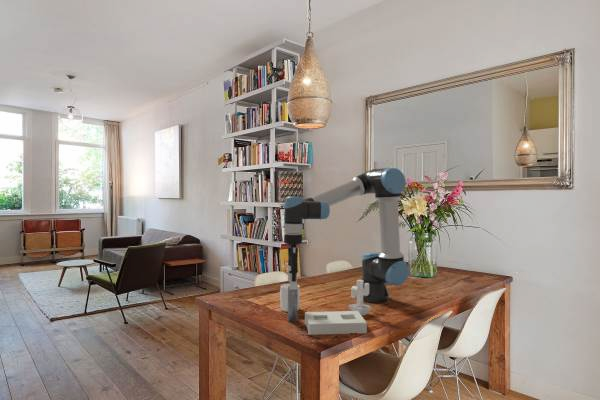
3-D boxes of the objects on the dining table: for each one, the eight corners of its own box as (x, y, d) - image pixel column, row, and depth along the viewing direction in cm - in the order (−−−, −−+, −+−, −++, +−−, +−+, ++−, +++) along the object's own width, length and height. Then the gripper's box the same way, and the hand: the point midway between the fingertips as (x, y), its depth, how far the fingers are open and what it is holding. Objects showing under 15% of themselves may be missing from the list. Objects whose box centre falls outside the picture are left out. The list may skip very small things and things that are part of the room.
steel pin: (296, 318, 157) (297, 285, 157) (297, 321, 153) (298, 287, 153) (287, 318, 157) (287, 285, 156) (287, 322, 153) (288, 288, 152)
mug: (287, 303, 178) (287, 281, 178) (303, 310, 169) (303, 286, 168) (272, 306, 173) (272, 283, 172) (287, 313, 163) (288, 289, 163)
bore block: (357, 320, 155) (357, 310, 155) (366, 333, 142) (366, 322, 141) (304, 321, 153) (305, 312, 153) (309, 334, 139) (309, 324, 139)
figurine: (357, 309, 170) (357, 276, 169) (373, 315, 162) (374, 280, 162) (346, 312, 165) (346, 279, 165) (362, 318, 158) (362, 283, 157)
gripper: (282, 230, 166) (281, 278, 166) (285, 237, 141) (284, 293, 142) (299, 230, 167) (298, 278, 167) (305, 237, 142) (304, 293, 142)
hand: (292, 285), depth 154 cm, fingers open, 13 cm apart
